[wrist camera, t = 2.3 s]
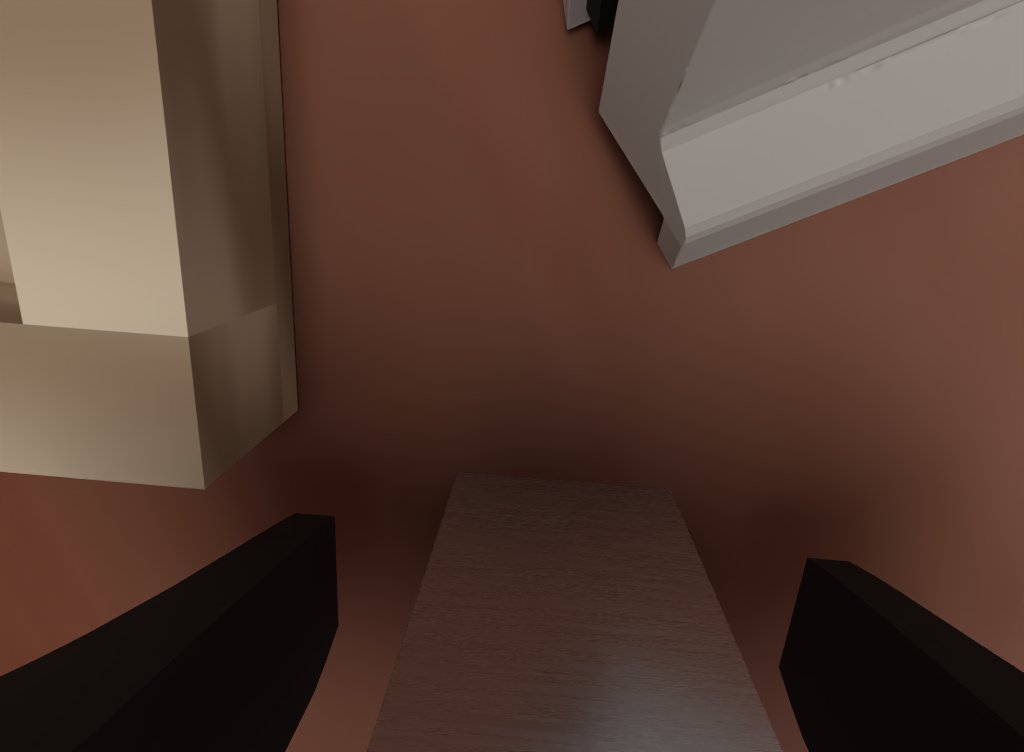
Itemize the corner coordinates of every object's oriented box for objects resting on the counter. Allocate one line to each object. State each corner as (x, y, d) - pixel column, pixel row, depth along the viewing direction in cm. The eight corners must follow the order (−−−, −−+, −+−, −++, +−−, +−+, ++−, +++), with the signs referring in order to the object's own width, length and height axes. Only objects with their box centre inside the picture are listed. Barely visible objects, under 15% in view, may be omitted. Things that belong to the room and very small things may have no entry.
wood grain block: (458, 471, 11) (336, 845, 5) (670, 490, 11) (845, 901, 4) (451, 642, 12) (347, 1122, 6) (641, 661, 12) (747, 1173, 6)
